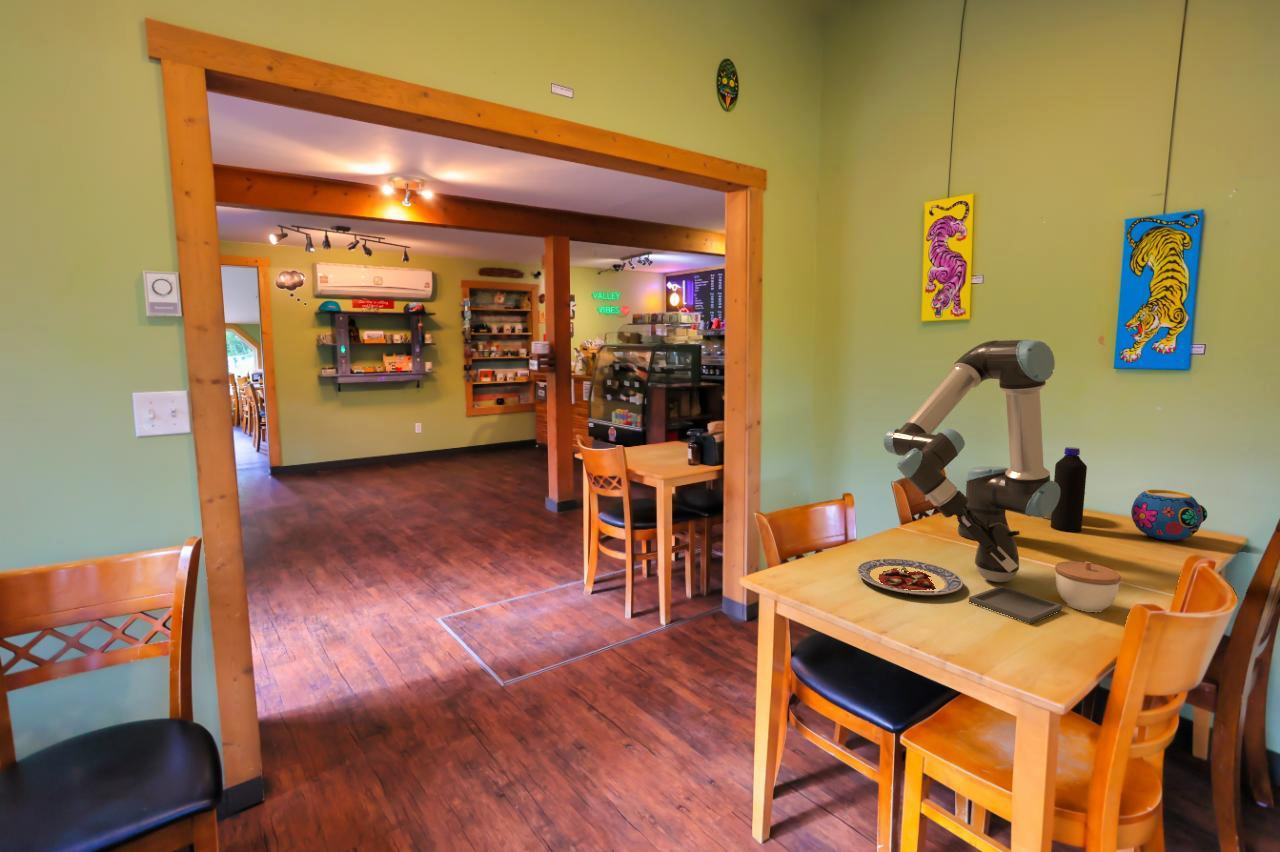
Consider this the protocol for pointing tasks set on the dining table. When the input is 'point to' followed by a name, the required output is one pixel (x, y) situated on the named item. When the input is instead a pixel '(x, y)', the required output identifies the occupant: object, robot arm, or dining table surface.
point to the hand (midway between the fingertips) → (1010, 562)
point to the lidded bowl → (1086, 585)
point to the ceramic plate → (910, 577)
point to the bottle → (1069, 492)
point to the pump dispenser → (988, 563)
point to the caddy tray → (1016, 604)
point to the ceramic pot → (1167, 514)
